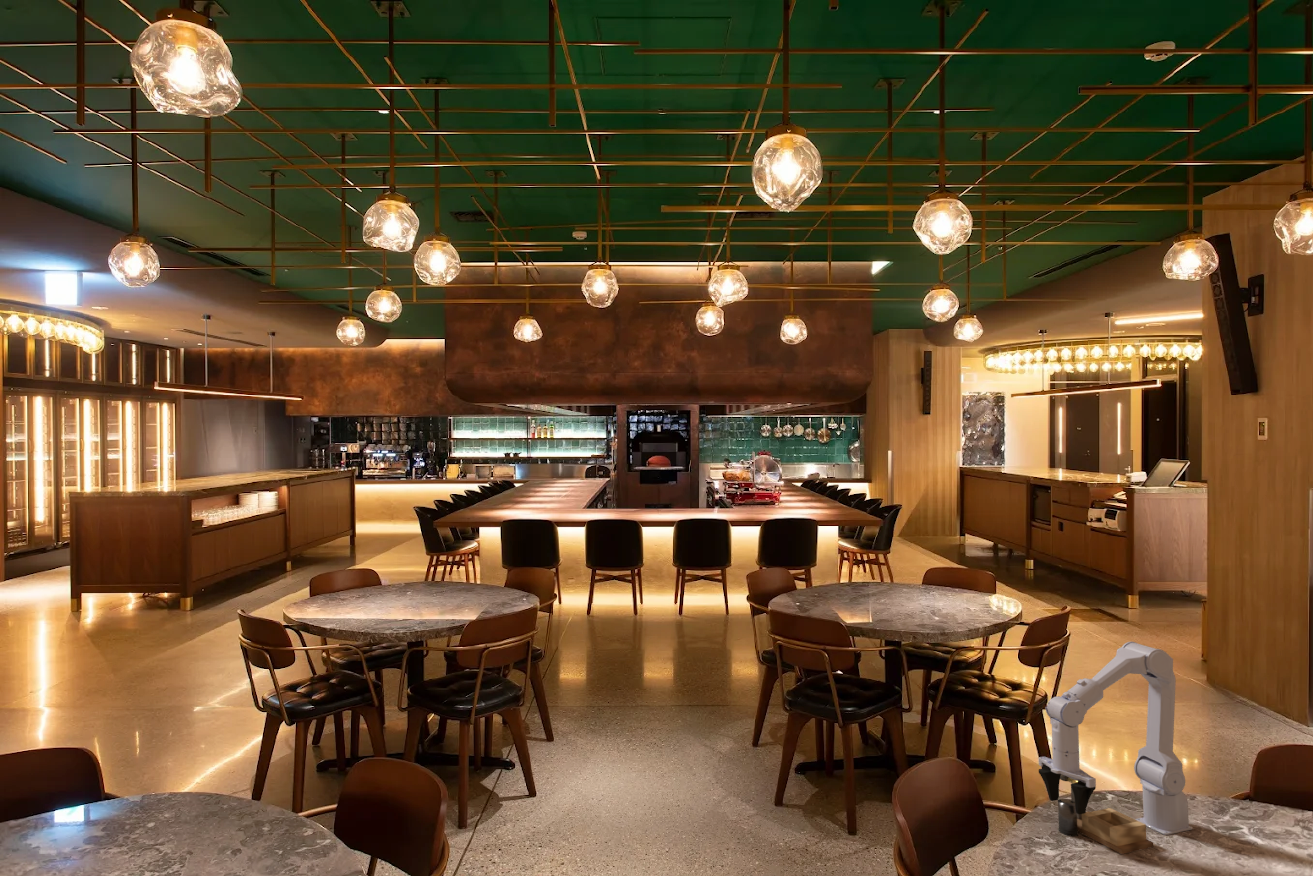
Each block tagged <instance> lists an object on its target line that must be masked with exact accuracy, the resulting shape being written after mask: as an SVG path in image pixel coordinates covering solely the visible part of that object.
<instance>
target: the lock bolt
mask: <svg viewBox="0 0 1313 876" xmlns="http://www.w3.org/2000/svg"><path fill="white" fill-rule="evenodd" d="M1060 781H1063V782H1069V783H1070V784H1073V783H1078V781H1076V780H1074V779H1072V778H1069V777H1067V776H1065V775H1063V774H1061V777H1060Z"/></svg>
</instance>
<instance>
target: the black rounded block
mask: <svg viewBox="0 0 1313 876" xmlns="http://www.w3.org/2000/svg"><path fill="white" fill-rule="evenodd" d="M1057 813H1058V814H1057V815H1058V816H1057V817H1058V832H1059V833H1060V834H1062V835H1064V836H1068V837H1076V836H1078V834H1079V832H1078V826H1077V813H1076V808H1075V802H1074V801H1072V800H1071V799H1068V798H1060V799H1059V798H1058V800H1057Z"/></svg>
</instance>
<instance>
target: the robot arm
mask: <svg viewBox="0 0 1313 876" xmlns="http://www.w3.org/2000/svg"><path fill="white" fill-rule="evenodd" d="M1129 674H1132V675H1133V674H1134V675H1140V676H1142V677H1143V678H1144V679H1145V680H1146V681H1147V682H1148V689H1147V690H1148V694H1147V695H1148V696H1147V716H1146V721H1147V723H1146V742H1145V746H1143V747H1141V748H1140V749H1138V750H1137V751H1138V752H1137V756H1136V757H1137V758H1136V759H1135V762H1134V764H1133V765H1134V766H1133V771H1134V773H1135V775H1136V777H1137V778H1139V781H1140V784H1141V785H1142V807H1143V809H1142V810H1143V817H1140V818H1139V817H1138V818H1135V820H1137V821H1139V822H1141V823H1144V824H1146V828H1149V829H1151V830H1153V831H1156V832H1157V833H1160V834H1162V835H1165V836H1168V835H1169V836H1170V835H1174V834H1177V833H1182V832H1186V831H1191V830H1193V826H1190V823H1189V822H1190V820H1189V801H1188V798H1187V796H1186V794H1185V793H1184V791H1183V790H1184V788H1185V786H1186V777H1185V774H1184V771H1183V763H1182V761H1181V760H1180V759H1179V758H1178V756H1177V755H1176V753H1174V736H1175V735H1174V733H1175V708H1176V705H1175V704H1176V686H1177V685H1176V681H1177V680H1176V675H1175V672H1174V658H1173V657H1171V655H1169V654H1168V653H1167V651H1165V650H1163V649H1161V648H1154V647H1150V646H1148V645H1145V644H1140V643H1138V642H1136V641H1127V642H1125V643H1123V644H1122V646H1121V647H1119V648H1117V650H1116V654H1115V656H1114V657H1113V658H1112V659H1111V660H1110V661H1109V662H1108V663H1107V664H1106V665H1104V666H1103V667H1102V668H1101V669H1100V671H1098V672H1097V673H1096V674H1095V675H1094V676H1093V677H1092V678H1088V677H1087V678H1085V677H1084V678H1079V679H1078V680H1077V681H1076V684H1075V685H1073V686H1072V687H1071V688H1070V689H1067V691H1065V692H1063V693H1062V695H1061V696H1054V697H1052V698H1050V699H1049V701H1048V702H1047V706H1045V712H1046V715H1047V716H1048V717H1049V720H1050V725H1051V743H1052V744H1051V745H1052V747H1051V749H1052V758H1050V757H1046V756H1040V757H1038V766H1040V767H1041V768H1039V769H1038V774H1039V775H1040V777H1041V779H1042V781H1043V782H1044V785H1045V788H1046V791H1047V795H1048V799H1049V801H1051V802H1053V801H1054V802H1055V801H1058V800H1059V797H1060V781H1061V779H1060V777H1061V774H1063V775H1065V776H1067V777H1069V778H1072V779H1074V780H1076V781H1078V783H1073V784H1072V783H1070V788H1071V787H1072V790H1073V793H1074V797H1075V808H1076V813H1077V814H1084V813H1085V812H1087V807H1088V804H1089V801H1090V798H1091V797H1092V795H1093V792H1094V791H1095V790H1096V788H1097V786H1096V785H1097V783H1096V778H1095V777H1093V776H1091V775H1090V774H1088V772H1085V771H1084V770H1083V769H1081V768H1080V740H1079V738H1080V737H1079V735H1080V734H1079V725H1081V724H1082V723H1083V721H1084V719H1085V715H1086V714H1087V712H1088V710H1090V709H1091V708H1092V707H1094V706H1095V705H1096V704H1098V703H1099V702H1100V701H1101V700H1102V699H1104V690H1106V689H1108V688H1109V687H1111V686H1112V685H1114V684H1115V683H1116V682H1118V681H1120V680H1121V679H1123V678H1124V677H1126V676H1127V675H1129Z"/></svg>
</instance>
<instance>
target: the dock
mask: <svg viewBox="0 0 1313 876" xmlns="http://www.w3.org/2000/svg"><path fill="white" fill-rule="evenodd" d="M1070 796H1071V797H1070V798H1071V799H1070V800H1072V801H1074V802H1075V797H1074V793H1073V790H1072V787H1071V786H1070ZM1135 819H1136V818H1135ZM1135 819H1134V818H1133V817H1130V816H1128V815H1127V814H1124V813H1122V812H1119V811H1117V810H1115V809H1113V808H1112V807H1108V808H1103V809H1102V808H1101V809H1097V810H1094V811H1093V810H1092V811H1086V812H1085V813H1084V814H1077V826H1078V833H1080V834H1082V835H1084V836H1086V837H1088V838H1090V839H1092V840H1094V841H1096V842H1097V843H1099V844H1101V845H1104V846H1105V847H1107V848H1109V849H1111V850H1112V851H1115V852H1117V853H1119V854H1121V855H1123V854H1128V853H1133V852H1138V851H1143V850H1147V849H1150V848H1154V842H1153V841H1152V840H1149V839H1148V838H1147V826H1146V824H1144V823H1141V822H1139V821H1137V820H1135Z"/></svg>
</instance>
